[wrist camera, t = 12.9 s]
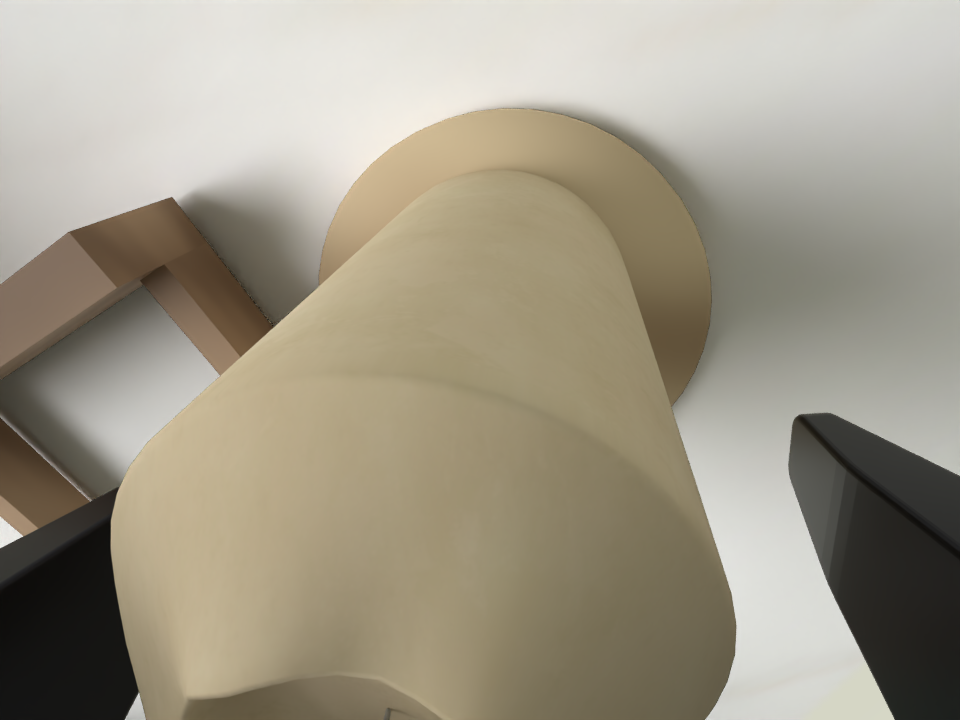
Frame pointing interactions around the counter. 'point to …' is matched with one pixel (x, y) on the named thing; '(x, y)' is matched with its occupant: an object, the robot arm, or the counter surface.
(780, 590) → the counter surface
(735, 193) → the counter surface
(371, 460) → the candle
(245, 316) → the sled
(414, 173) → the coaster
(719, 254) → the counter surface
